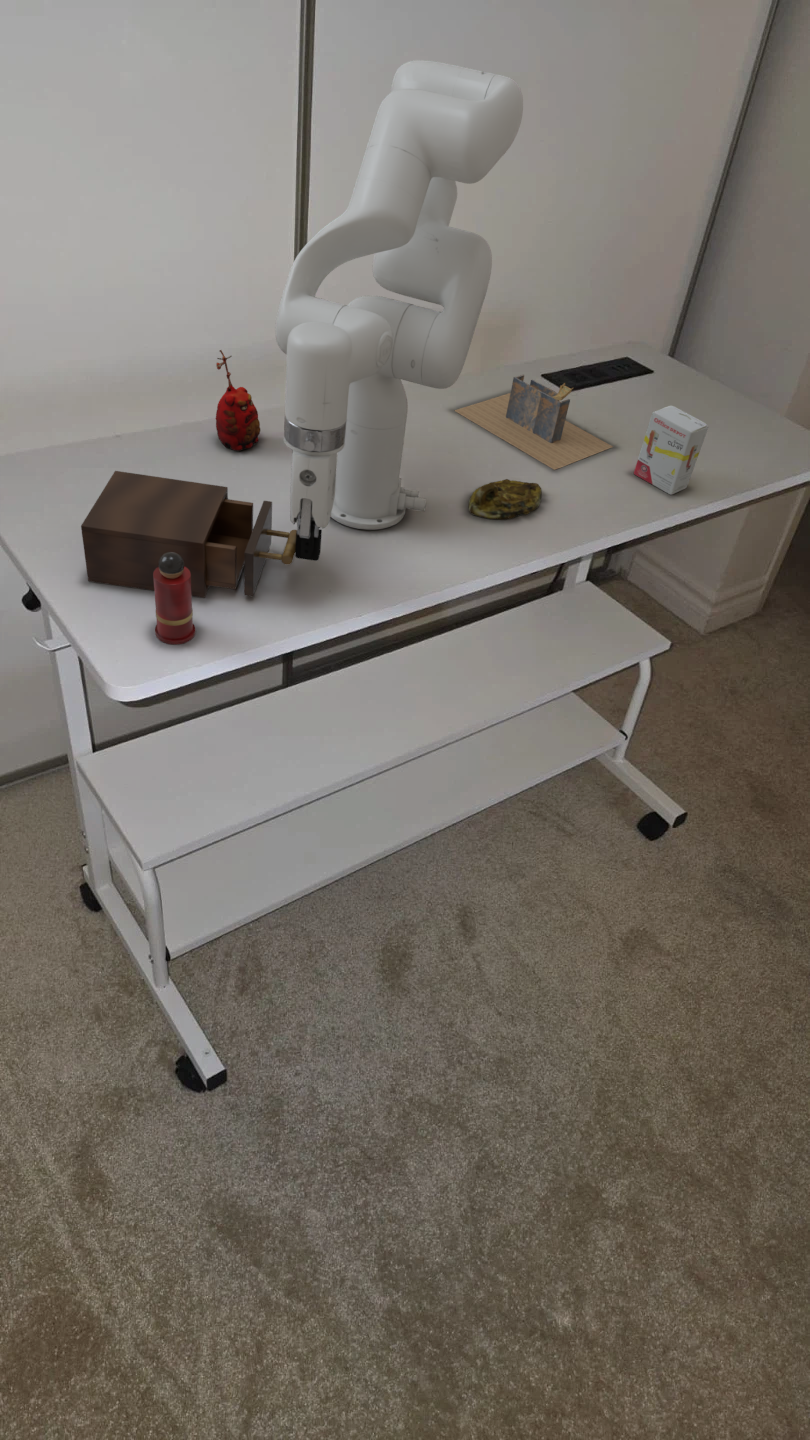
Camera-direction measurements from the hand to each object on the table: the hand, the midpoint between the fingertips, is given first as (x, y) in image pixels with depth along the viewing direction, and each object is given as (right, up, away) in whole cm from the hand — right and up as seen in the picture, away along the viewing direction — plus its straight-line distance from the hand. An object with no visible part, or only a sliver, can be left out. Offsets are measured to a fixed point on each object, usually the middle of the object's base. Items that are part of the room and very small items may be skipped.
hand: (307, 556), depth 130 cm
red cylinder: (-16, -11, -8) cm, 21 cm away
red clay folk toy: (-15, +24, +29) cm, 40 cm away
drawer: (-11, -1, +2) cm, 12 cm away
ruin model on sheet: (+37, +31, +45) cm, 66 cm away
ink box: (+57, +19, +36) cm, 70 cm away
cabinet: (-21, 0, +3) cm, 21 cm away
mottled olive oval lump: (+29, +13, +25) cm, 40 cm away
